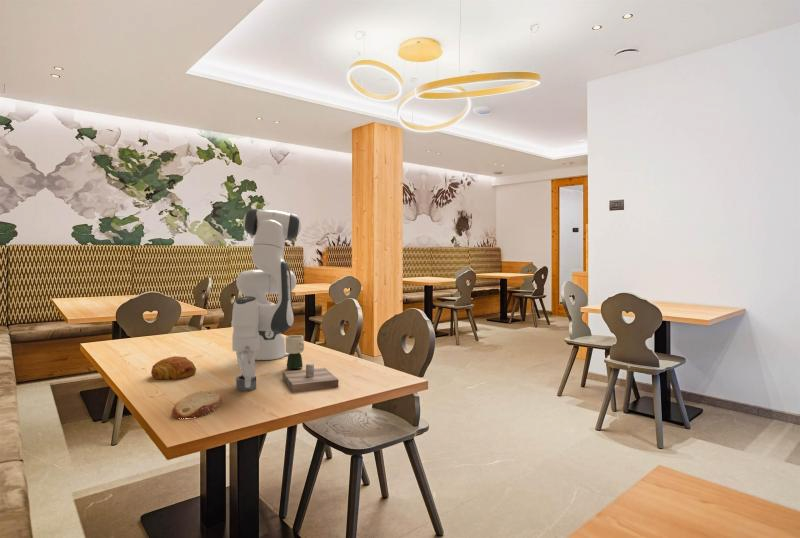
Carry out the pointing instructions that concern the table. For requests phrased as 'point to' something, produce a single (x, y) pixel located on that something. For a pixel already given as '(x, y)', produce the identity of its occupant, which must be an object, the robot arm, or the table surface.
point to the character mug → (294, 351)
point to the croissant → (173, 368)
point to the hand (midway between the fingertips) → (246, 384)
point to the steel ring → (241, 384)
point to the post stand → (310, 379)
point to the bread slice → (197, 404)
